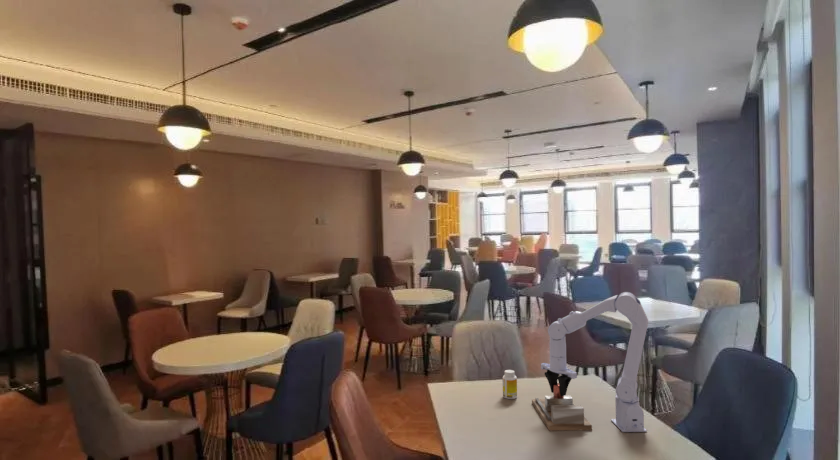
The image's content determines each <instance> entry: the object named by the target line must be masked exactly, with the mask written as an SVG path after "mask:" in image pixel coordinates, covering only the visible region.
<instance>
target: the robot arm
mask: <svg viewBox="0 0 840 460" xmlns="http://www.w3.org/2000/svg"><path fill="white" fill-rule="evenodd" d="M607 312H609V313H617V312H619V313H620V314H621V315H622V316H624V317H626V318H627V320H629V322H630V323H631V325H632V326H631V331H630V336H629V342H628V345H627V350H626V355H625V359H624V364H623V368H622V369H623V370H622V374H621V375H620V376H619V378H618V379H617V386H616V387H615V399H614V400H615V418H611V419H610V420H611V422H612V424H614V425H615V426H616V427H617V428H618V429H619V430H620V431H621V432H622V433H637V432H638V433H639V432H640V433H641V432H642V433H643V432H644V433H645V432H647V431H648V430H647V429H646V428H645V421H644V420H645V418H644V416H645V414H644V409H642V407H641V406H640V397H639V396H638V392H637V390H638V382H637V378H638V373H639V369H640V365H641V364H640V363H641V360H642V354H643V349H644V345H645V339H646V336H647V335H646V334H647V329H648V326H649V318H648V316H647V314H646V312H645V310H644V308H643V305H642V303H641V301H640V299H639V298H638V297H637V296H636V295H635V294H633V292H629V291H624V292H621V293H619V295H618V294H616V295H613V296H611V297H608V298H605V299H604V300H603V301H601V302H599V303H597V304H595V305H593V306H591V307H590V308H587V309H585V310H584V311H580V310H579V311H578V310H575V311H573V310H572V311H570V312H569V313H568V315H566V316H564V317H559V318H557V320H556V321H553V322H552V323H551V324H550V325H549V326H548V328H547V333H548V336H549V363H546V362H542V363H540V370H546V372H544V376H545V379H547V380H546V381H547V382H548V385H549V388H550V392H551V394H553V384H554V383H559V386H560V395H561V396H565V395H567V391H568V389H569V385H570V382H571V381H572V380H575V379H577V378H578V374H577V373H578V372H577V371H574V370H572V369H570V368H568V366H567V342H566V339H567V338H566V335H567V334H571V333H574V332H575V331H578V330H579V329H581V328H583V327H586V325H587V321H590V320H592V319H593V318H595V317H598V316H600V315H601V314H604V313H607Z"/></svg>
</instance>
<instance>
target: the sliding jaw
mask: <svg viewBox="0 0 840 460" xmlns="http://www.w3.org/2000/svg"><path fill="white" fill-rule="evenodd" d="M552 394H553V395H544V399H545V409H546V410H547V411H551V405H573V404H574V403H573V402H574V401H573V397H572V395H567V394H566V395H565V396H561V395H560V386H559V382H557V383H554V384H553V393H552Z"/></svg>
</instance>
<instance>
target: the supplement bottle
mask: <svg viewBox="0 0 840 460" xmlns="http://www.w3.org/2000/svg"><path fill="white" fill-rule="evenodd" d="M502 396H503V398H505V399H507V400H514V399H517V398H518V378H517V375H516V373H515V370H513V369H506V370H504V375H503V376H502Z"/></svg>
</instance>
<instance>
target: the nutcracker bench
mask: <svg viewBox="0 0 840 460" xmlns="http://www.w3.org/2000/svg"><path fill="white" fill-rule="evenodd" d="M531 404H532V406H533V407H534V409H535V411H536V412H537V414H538V415H539V417H540V419H541V420H542V422H543V423H544V425H545V426H546V428H547V429H548V431H593V425H592V424H591V422H590V421H589V420H588V419H587V417H585V408H584V407H583V406H582V404H574V403H573V405H551V411H547V410H546V409H545V398H541V399H540V398H539V397H535V399H531Z"/></svg>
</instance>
